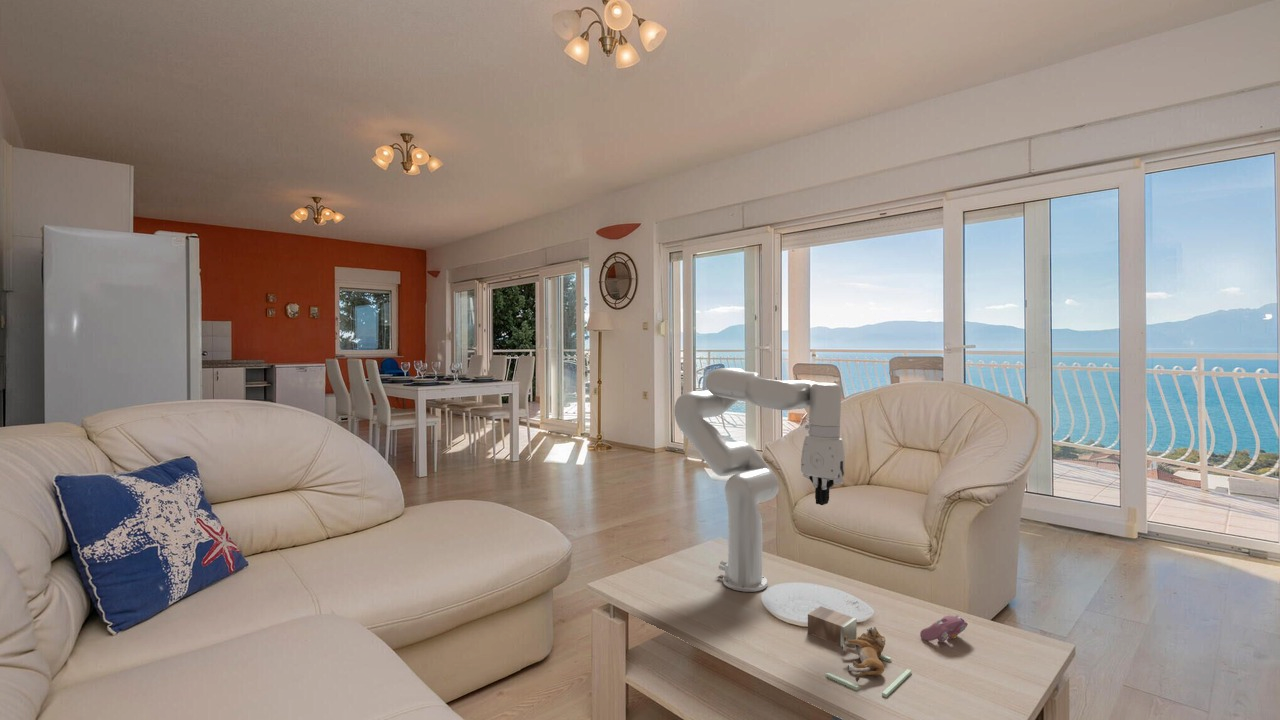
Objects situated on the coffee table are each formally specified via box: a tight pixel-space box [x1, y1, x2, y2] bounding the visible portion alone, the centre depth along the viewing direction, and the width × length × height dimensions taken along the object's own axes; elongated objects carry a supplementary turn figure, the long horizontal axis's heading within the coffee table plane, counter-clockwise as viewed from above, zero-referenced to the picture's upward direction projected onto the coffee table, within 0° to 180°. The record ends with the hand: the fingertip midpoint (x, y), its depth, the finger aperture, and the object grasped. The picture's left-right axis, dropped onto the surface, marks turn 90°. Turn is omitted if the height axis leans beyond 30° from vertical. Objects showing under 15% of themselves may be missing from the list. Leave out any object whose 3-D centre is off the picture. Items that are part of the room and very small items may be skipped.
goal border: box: [825, 653, 912, 698], centre depth 118 cm, size 11×16×1 cm
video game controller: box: [919, 615, 968, 643], centre depth 132 cm, size 10×5×7 cm, turn 115°
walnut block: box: [807, 605, 858, 647], centre depth 134 cm, size 4×6×9 cm
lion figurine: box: [841, 626, 886, 683], centre depth 121 cm, size 15×5×9 cm
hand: (821, 503), depth 146 cm, fingers closed
